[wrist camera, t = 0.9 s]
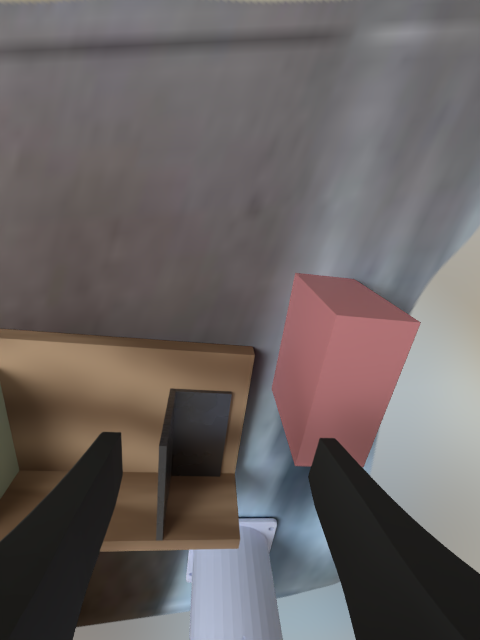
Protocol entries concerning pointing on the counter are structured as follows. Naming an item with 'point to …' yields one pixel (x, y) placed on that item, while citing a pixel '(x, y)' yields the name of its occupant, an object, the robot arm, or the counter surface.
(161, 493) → the bookend
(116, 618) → the counter surface
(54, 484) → the shelf
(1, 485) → the books
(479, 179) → the counter surface
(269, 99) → the counter surface
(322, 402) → the tall pink block
